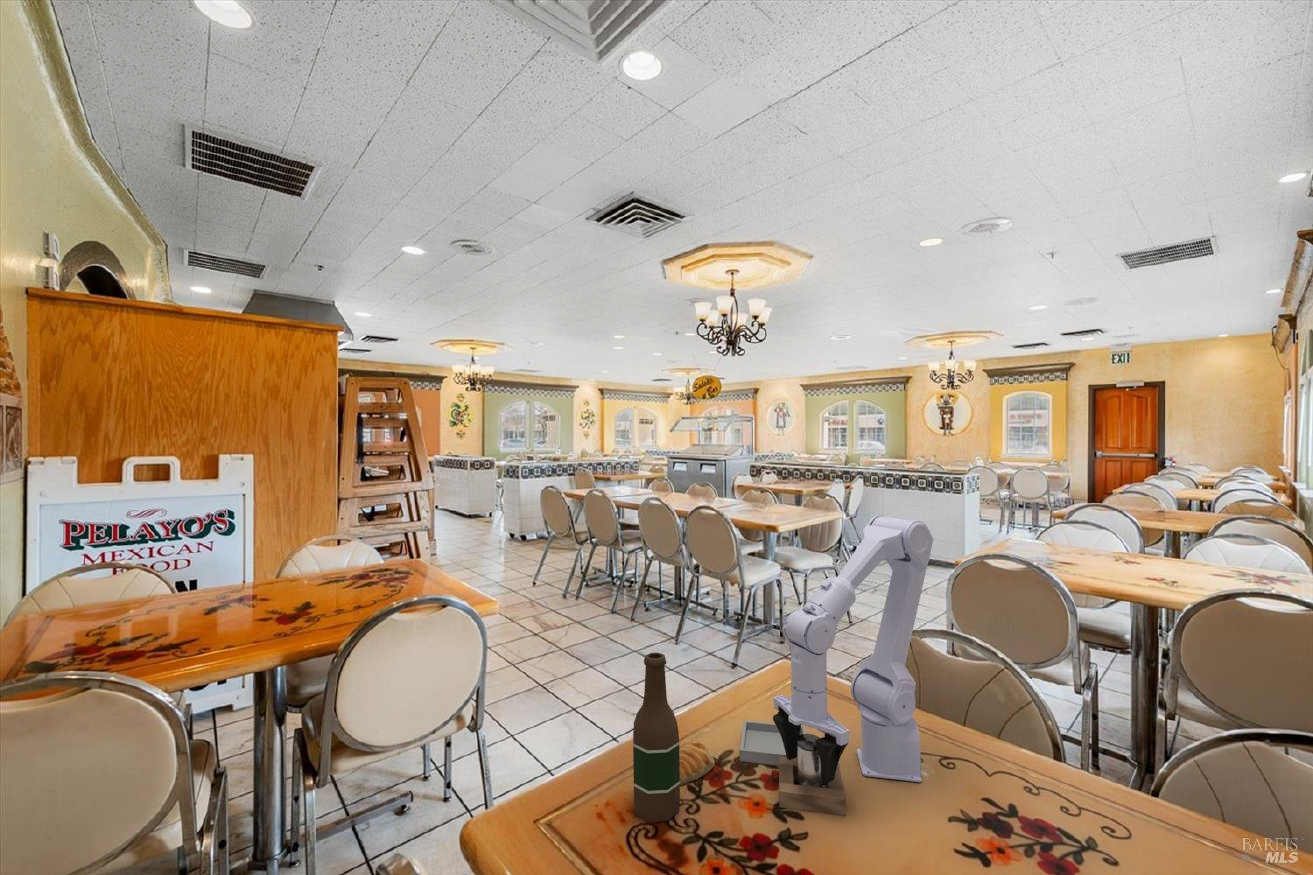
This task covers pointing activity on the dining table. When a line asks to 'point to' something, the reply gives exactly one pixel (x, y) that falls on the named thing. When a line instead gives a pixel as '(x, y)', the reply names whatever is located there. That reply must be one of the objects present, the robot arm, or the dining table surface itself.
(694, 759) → the pastry
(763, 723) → the tray
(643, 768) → the beer bottle
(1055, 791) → the dining table surface
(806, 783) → the steel pin
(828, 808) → the eye block
